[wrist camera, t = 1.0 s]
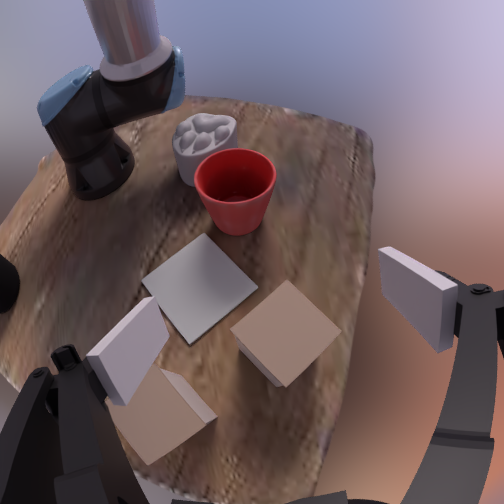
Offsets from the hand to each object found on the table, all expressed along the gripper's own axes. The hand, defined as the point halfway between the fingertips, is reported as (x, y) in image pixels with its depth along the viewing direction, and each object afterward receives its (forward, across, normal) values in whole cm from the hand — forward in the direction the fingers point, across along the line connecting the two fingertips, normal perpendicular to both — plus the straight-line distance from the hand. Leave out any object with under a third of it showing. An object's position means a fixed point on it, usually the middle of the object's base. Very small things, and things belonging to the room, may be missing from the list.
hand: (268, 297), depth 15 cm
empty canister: (+16, -2, -14) cm, 21 cm away
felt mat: (+22, -11, -5) cm, 25 cm away
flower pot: (+30, -4, +2) cm, 30 cm away
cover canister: (+10, -15, -17) cm, 25 cm away
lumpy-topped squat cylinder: (+39, -9, +13) cm, 42 cm away
